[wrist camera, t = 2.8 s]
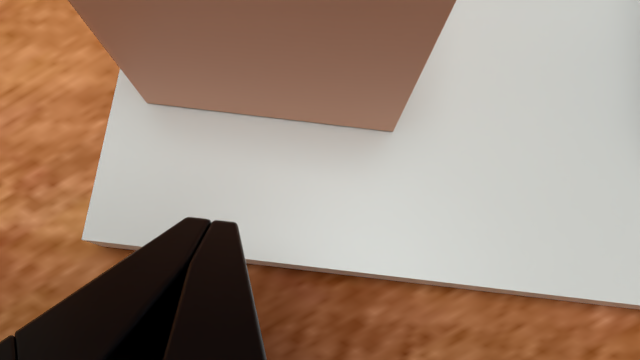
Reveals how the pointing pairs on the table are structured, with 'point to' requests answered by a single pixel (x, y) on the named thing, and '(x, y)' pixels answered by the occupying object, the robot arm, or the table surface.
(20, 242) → the table surface
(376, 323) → the table surface
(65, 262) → the table surface
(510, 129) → the grey base board
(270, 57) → the terracotta block
